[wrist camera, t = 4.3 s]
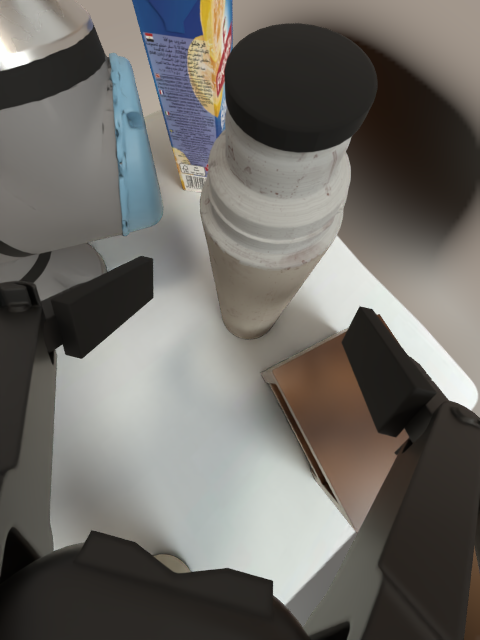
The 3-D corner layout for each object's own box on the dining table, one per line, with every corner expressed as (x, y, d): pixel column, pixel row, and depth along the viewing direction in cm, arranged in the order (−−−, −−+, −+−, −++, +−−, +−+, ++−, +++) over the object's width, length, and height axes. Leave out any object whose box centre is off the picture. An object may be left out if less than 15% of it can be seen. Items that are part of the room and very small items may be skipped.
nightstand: (260, 372, 32) (271, 370, 22) (338, 332, 34) (379, 313, 24) (316, 481, 29) (357, 533, 19) (398, 430, 31) (474, 455, 21)
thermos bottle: (212, 304, 34) (126, 30, 7) (256, 279, 36) (326, -40, 8) (240, 349, 33) (264, 214, 6) (285, 321, 34) (486, 97, 7)
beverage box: (233, 147, 42) (231, -91, 21) (222, 196, 39) (208, -20, 18) (196, 141, 42) (157, -101, 21) (183, 190, 39) (122, -32, 18)
